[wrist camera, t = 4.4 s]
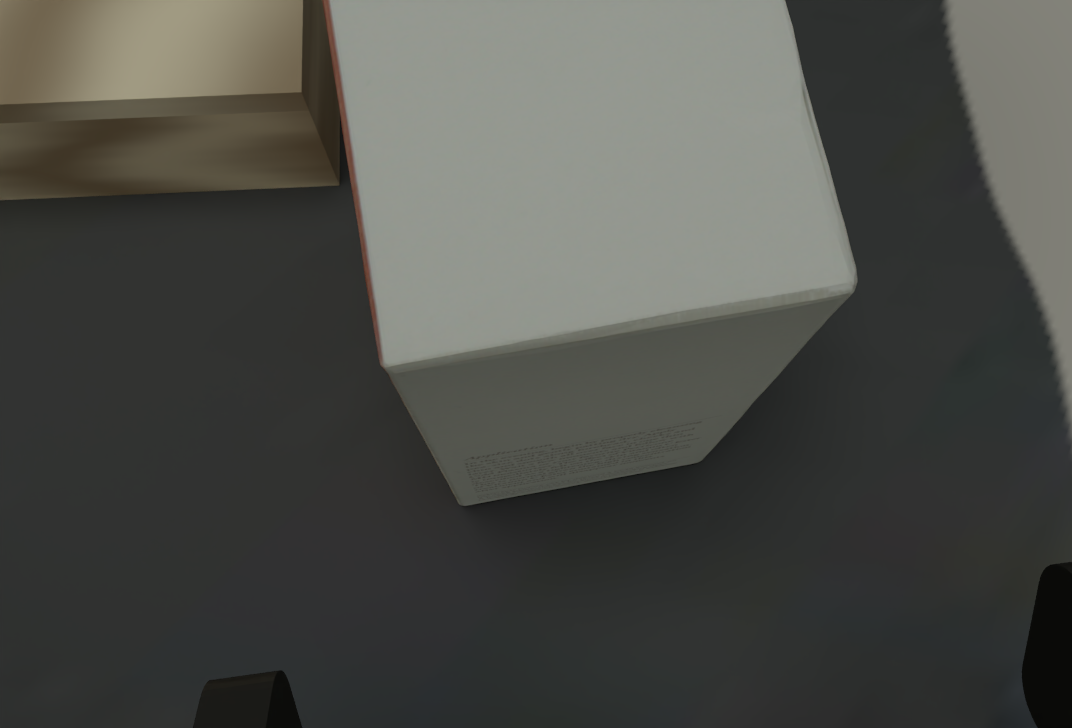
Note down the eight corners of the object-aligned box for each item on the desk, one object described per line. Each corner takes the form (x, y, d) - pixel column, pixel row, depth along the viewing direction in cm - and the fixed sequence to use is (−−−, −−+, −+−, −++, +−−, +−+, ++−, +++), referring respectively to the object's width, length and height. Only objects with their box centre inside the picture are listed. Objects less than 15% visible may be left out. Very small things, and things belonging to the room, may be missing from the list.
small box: (404, 217, 27) (292, -163, 14) (637, 177, 27) (726, -227, 15) (454, 516, 25) (375, 376, 12) (706, 468, 25) (879, 284, 13)
